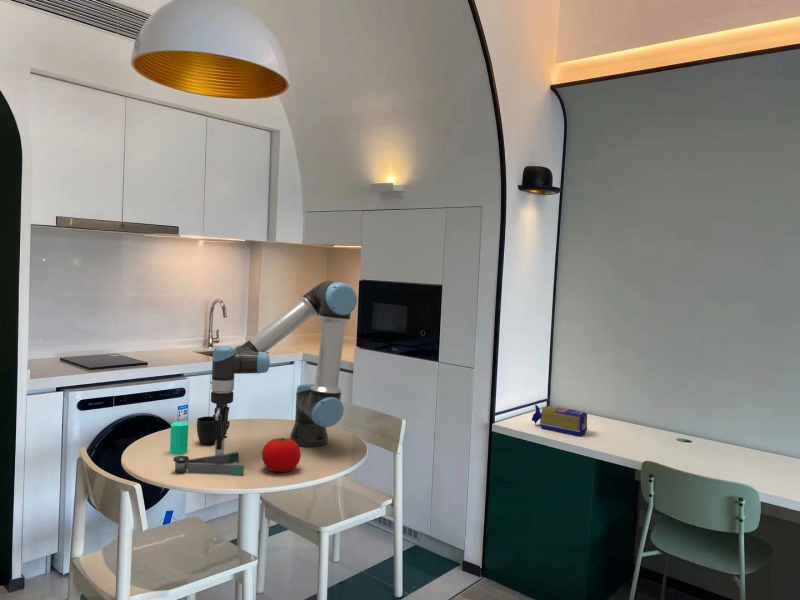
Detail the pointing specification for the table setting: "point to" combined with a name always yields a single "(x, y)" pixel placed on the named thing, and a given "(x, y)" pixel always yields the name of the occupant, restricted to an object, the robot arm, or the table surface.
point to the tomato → (281, 454)
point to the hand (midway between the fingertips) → (219, 457)
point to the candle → (179, 438)
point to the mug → (206, 430)
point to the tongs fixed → (206, 467)
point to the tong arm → (217, 459)
